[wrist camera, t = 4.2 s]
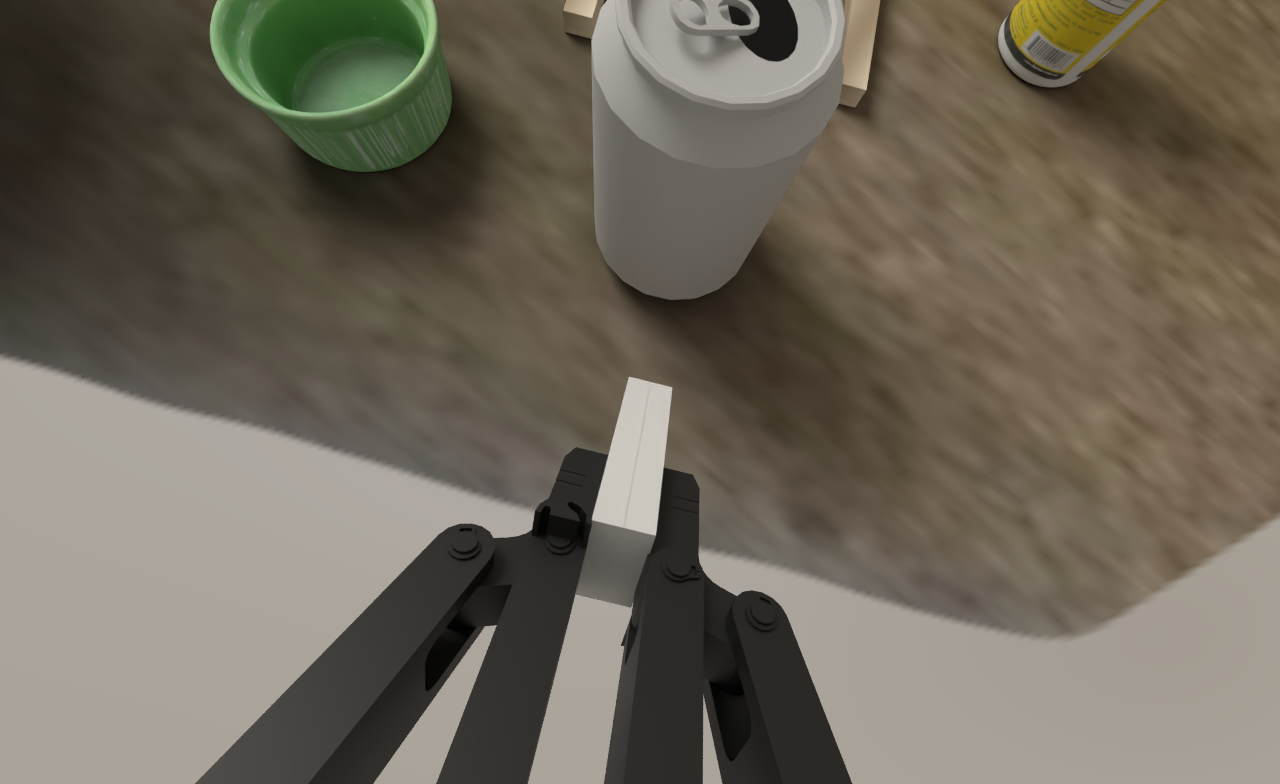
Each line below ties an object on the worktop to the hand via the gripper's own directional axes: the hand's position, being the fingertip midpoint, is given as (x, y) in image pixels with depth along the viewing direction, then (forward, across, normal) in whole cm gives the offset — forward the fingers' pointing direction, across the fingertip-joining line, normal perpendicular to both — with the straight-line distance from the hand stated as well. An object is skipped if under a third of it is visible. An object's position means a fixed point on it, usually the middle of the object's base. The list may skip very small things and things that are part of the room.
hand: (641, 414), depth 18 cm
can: (+11, 0, +3) cm, 11 cm away
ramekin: (+13, -16, +5) cm, 22 cm away
